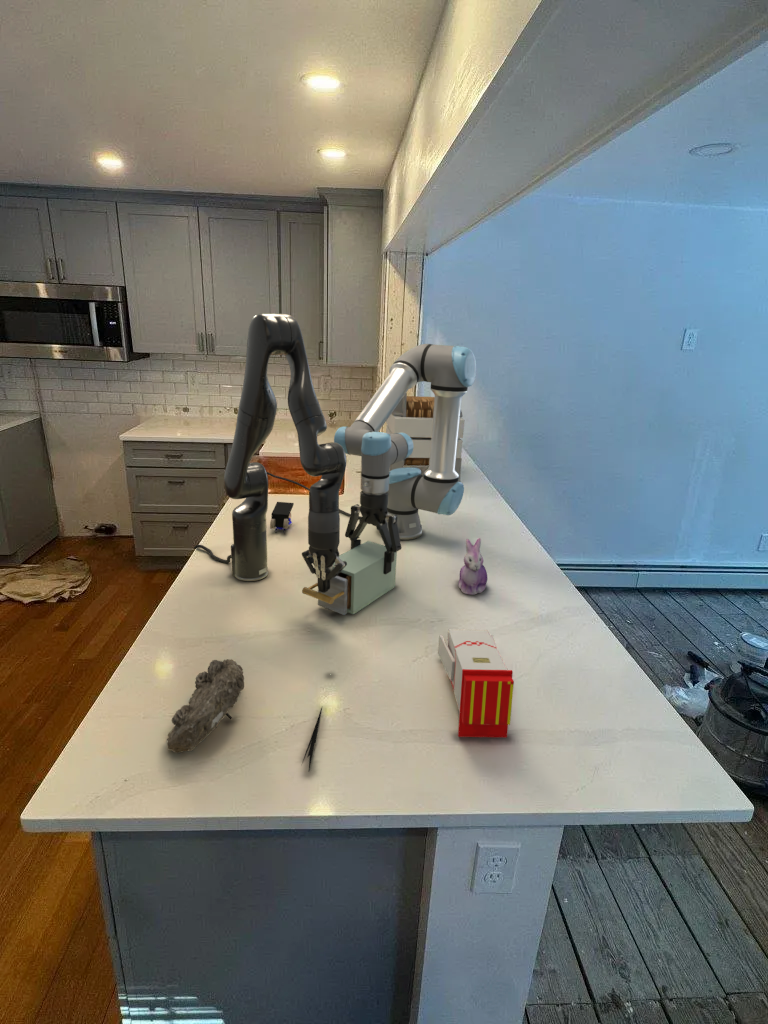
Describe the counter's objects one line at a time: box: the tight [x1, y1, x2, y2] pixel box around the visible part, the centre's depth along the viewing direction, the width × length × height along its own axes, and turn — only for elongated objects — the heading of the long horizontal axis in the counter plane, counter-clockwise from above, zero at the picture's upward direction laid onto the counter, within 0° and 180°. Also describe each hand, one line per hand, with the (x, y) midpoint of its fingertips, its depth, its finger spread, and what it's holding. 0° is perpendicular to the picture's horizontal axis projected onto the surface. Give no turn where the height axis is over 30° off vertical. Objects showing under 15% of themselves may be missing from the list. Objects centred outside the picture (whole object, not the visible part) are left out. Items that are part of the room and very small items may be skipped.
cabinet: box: [333, 540, 398, 615], centre depth 155 cm, size 20×10×12 cm, turn 146°
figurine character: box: [269, 501, 294, 534], centre depth 199 cm, size 7×8×15 cm
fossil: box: [166, 658, 245, 754], centre depth 106 cm, size 22×10×15 cm
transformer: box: [385, 392, 465, 482], centre depth 268 cm, size 34×33×41 cm
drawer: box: [301, 569, 351, 616], centre depth 149 cm, size 24×9×10 cm, turn 146°
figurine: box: [457, 537, 488, 596], centre depth 160 cm, size 9×10×15 cm
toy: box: [437, 628, 515, 738], centre depth 117 cm, size 12×13×30 cm
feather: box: [301, 673, 332, 771], centre depth 108 cm, size 2×28×2 cm
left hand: (323, 591), depth 141 cm, fingers closed
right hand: (371, 567), depth 158 cm, fingers closed on cabinet, 10 cm apart
